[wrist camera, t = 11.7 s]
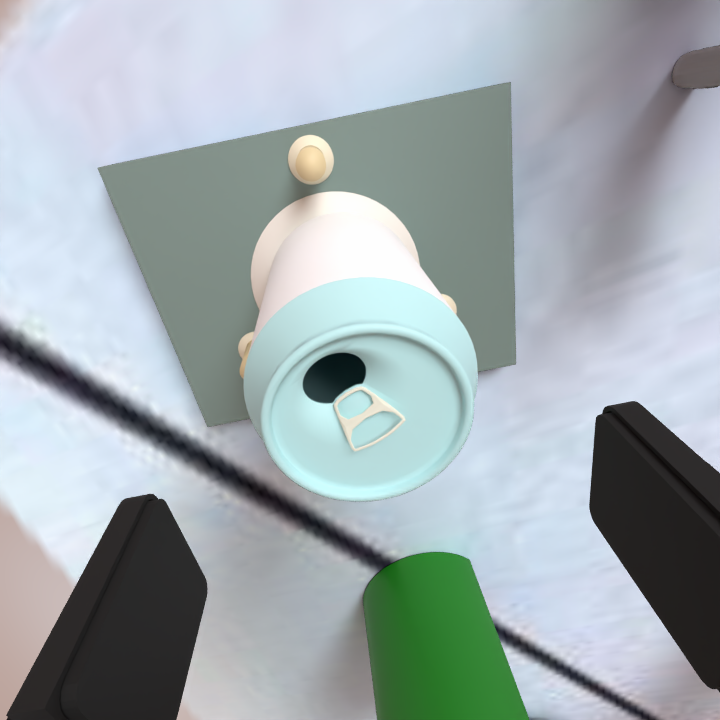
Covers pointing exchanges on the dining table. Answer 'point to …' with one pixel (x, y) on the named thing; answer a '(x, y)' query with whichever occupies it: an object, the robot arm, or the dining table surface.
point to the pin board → (315, 198)
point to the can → (357, 364)
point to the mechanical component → (698, 69)
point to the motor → (436, 644)
